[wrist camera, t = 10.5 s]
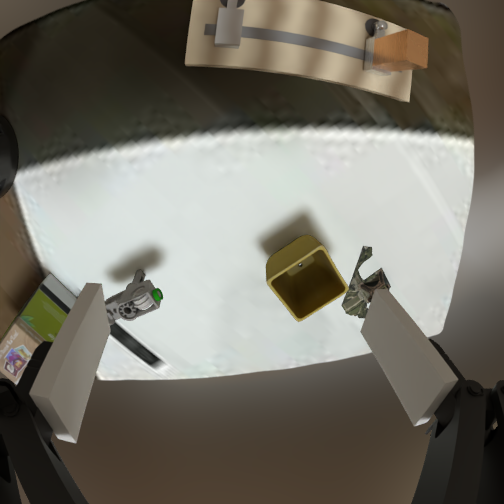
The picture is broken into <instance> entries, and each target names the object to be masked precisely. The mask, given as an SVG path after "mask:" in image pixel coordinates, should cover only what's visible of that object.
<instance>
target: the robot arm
mask: <svg viewBox="0 0 504 504" xmlns="http://www.w3.org/2000/svg"><path fill="white" fill-rule="evenodd" d="M17 166H18V147H17V141H16V137H15V134H14V131H13V129H12V127H11V125H10V124H9V122H8V121H7V120H6V119H5V118H4V117H3V116H1V115H0V198H1V197H3V196H4V195H5V194H6V193H7V192H8V190H9V189H10V187H11V185H12V183H13V181H14V178H15V175H16V171H17ZM360 332H361V334H362V335H363V337H364V339H365V340H366V342H367V344H368V345H369V347H370V349H371V350H372V352H373V354H374V355H375V357H376V359H377V361H378V362H379V364H380V366H381V367H382V369H383V371H384V373H385V374H386V376H387V378H388V380H389V382H390V383H391V385H392V387H393V389H394V390H395V392H396V394H397V396H398V398H399V399H400V401H401V403H402V405H403V407H404V409H405V410H406V412H407V414H408V416H409V418H410V420H411V422H412V423H413V425H414V426H416V425H420V424H423V423H426V422H427V421H428V420H429V419H430V418H431V417H432V415H433V414H435V416H436V418H437V419H436V420H435V421H434V422H433V424H432V425H431V426H430V427H429V428H428V430H427V431H426V433H425V434H428V433H429V432H430V431H431V430H432V433H431V435H430V436H431V437H430V442H429V446H428V450H427V454H426V458H425V462H424V465H423V469H422V472H421V476H420V479H419V482H418V485H417V488H416V491H415V494H414V497H413V500H412V503H411V504H504V380H500V381H498V382H497V383H496V385H495V386H494V388H493V389H484V388H483V387H482V386H481V385H480V384H479V383H478V382H476V381H473V380H465V378H464V377H463V376H462V374H461V373H460V372H459V371H458V369H457V368H456V366H455V365H454V364H453V363H452V361H451V360H449V357H448V356H447V355H446V354H445V352H444V351H443V349H442V348H441V347H440V346H439V345H438V344H437V343H436V342H434V341H433V340H431V339H428V338H427V337H426V336H425V335H424V333H423V332H422V331H421V329H420V328H419V327H418V326H417V324H416V323H415V322H414V321H413V319H412V318H411V317H410V316H409V315H408V313H407V312H406V311H405V310H404V308H403V307H402V306H401V305H400V304H399V302H398V301H397V300H396V299H395V298H394V296H393V295H392V294H391V293H390V292H389V291H388V289H375V291H374V294H373V297H372V300H371V303H370V306H369V309H368V312H367V315H366V318H365V320H364V323H363V326H362V329H361V331H360ZM109 333H110V326H109V321H108V316H107V311H106V306H105V301H104V295H103V290H102V284H98V283H86V285H85V286H84V288H83V290H82V291H81V293H80V295H79V297H78V298H77V300H76V302H75V303H74V305H73V307H72V309H71V310H70V312H69V314H68V316H67V318H66V319H65V321H64V323H63V325H62V327H61V329H60V331H59V332H58V334H57V336H56V338H55V340H54V342H49V341H43V342H42V343H41V344H40V345H39V346H38V347H37V348H36V349H35V350H34V352H33V354H32V356H31V360H29V362H28V364H27V367H26V368H25V370H24V372H23V374H22V376H21V378H20V380H19V382H18V384H17V386H15V385H14V383H13V382H12V381H10V380H9V379H4V378H1V379H0V504H22V503H21V499H20V495H19V490H18V485H17V480H16V475H15V471H16V473H17V476H18V478H19V480H20V483H21V485H22V487H23V489H24V491H25V494H26V496H27V498H28V500H29V502H30V504H89V503H88V502H87V500H86V499H85V497H84V496H83V494H82V493H81V491H80V489H79V488H78V486H77V485H76V483H75V481H74V480H73V478H72V476H71V475H70V473H69V471H68V470H67V468H66V466H65V464H64V462H63V461H62V459H61V457H60V455H59V453H58V451H57V449H56V447H55V446H54V443H53V442H52V441H51V436H52V433H53V432H54V433H55V435H56V436H57V438H58V439H61V440H65V441H69V442H74V443H76V442H77V438H78V434H79V430H80V426H81V423H82V419H83V415H84V411H85V408H86V404H87V401H88V397H89V394H90V391H91V387H92V384H93V381H94V378H95V375H96V372H97V368H98V365H99V362H100V359H101V356H102V353H103V350H104V348H105V345H106V342H107V339H108V336H109ZM496 421H497V424H498V426H497V427H496V429H493V424H494V423H495V422H496Z"/></svg>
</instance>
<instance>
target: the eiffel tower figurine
mask: <svg viewBox="0 0 504 504" xmlns="http://www.w3.org/2000/svg"><path fill="white" fill-rule="evenodd" d="M371 256H372V247H366V246H363V249H362V252H361V255H360V258H359V260H358V263H357V266H356V268H355V271H354V274H353V277H352V280H351V283H350V286H349V290H348V291H347V293H346V296H345V298H344V301H343V303H342V307H343V308H344V310H345V312H346V314H349V315H354V316H357V315H358V317H359V318H366V315H367V312H368V308H366V307H367V303H369V302H371V300H372V297H373V294H374V291H375V289H388V291H389V288H390V287H391V286H390V284H389V282H388V280H387V278H386V276H385V274H384V272H383V270H382V268H380V269H379V270H378V271H376V272H375V273H373V274H372V275H371V276H369V277H368V278H366V279H365V280H363V279H362V278H361V276H360V275H359V271H358V269H359V267H360V266H361V265H362V263H363V262H365V261H366V260H367V259H369V258H370V257H371Z"/></svg>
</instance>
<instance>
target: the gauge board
mask: <svg viewBox="0 0 504 504" xmlns="http://www.w3.org/2000/svg"><path fill="white" fill-rule="evenodd" d="M379 21H385V20H382V19H379V18H376V17H373V16H371V15H368V14H365V13H362V12H358V11H355V10H352V9H349V8H345V7H342V6H338V5H335V4H331V3H327V2H323V1H319V0H193V5H192V11H191V18H190V25H189V32H188V40H187V48H186V57H185V65H186V66H196V67H219V68H234V69H245V70H255V71H264V72H272V73H279V74H286V75H293V76H299V77H305V78H310V79H316V80H321V81H326V82H330V83H335V84H340V85H344V86H348V87H352V88H357V89H360V90H364V91H368V92H372V93H375V94H379V95H383V96H386V97H389V98H393V99H396V100H399V101H403V102H409V98H410V89H411V78H412V70H404V71H395V72H391V75H389V76H380V75H376V74H373V73H370V72H366V71H364V62H365V50H366V39H369V38H371V37H374V30H373V28H372V25H373V24H374V23H375V22H379ZM385 22H386V23H387V25H388V28H387V29H385V36H387V35H390V34H393V33H396V32H400V31H403V30H407V29H405V28H402V27H400V26H397V25H395V24H392V23H390V22H387V21H385Z"/></svg>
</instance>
